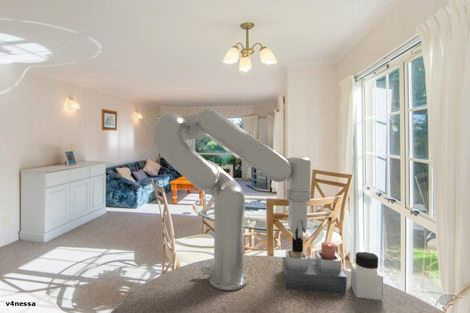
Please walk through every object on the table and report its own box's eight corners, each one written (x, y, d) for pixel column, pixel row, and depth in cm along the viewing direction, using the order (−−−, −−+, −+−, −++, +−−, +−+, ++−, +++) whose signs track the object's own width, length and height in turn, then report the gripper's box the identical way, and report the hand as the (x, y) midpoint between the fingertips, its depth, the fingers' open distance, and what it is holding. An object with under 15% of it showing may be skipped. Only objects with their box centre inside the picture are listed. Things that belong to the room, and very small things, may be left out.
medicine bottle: (382, 301, 75) (384, 259, 75) (355, 297, 77) (357, 257, 76) (374, 287, 82) (375, 250, 82) (350, 285, 84) (351, 248, 83)
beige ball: (290, 265, 84) (290, 253, 84) (289, 259, 88) (289, 248, 88) (304, 266, 84) (304, 253, 84) (302, 260, 88) (302, 248, 88)
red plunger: (322, 258, 83) (323, 246, 83) (320, 253, 87) (320, 241, 87) (336, 259, 83) (337, 247, 83) (333, 254, 87) (333, 242, 87)
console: (285, 289, 81) (285, 261, 80) (282, 270, 93) (282, 246, 92) (346, 293, 79) (346, 264, 79) (335, 273, 91) (335, 249, 91)
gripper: (284, 191, 93) (283, 242, 94) (288, 199, 78) (288, 260, 79) (306, 191, 92) (305, 243, 93) (314, 200, 78) (313, 261, 78)
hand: (297, 250), depth 86 cm, fingers closed
